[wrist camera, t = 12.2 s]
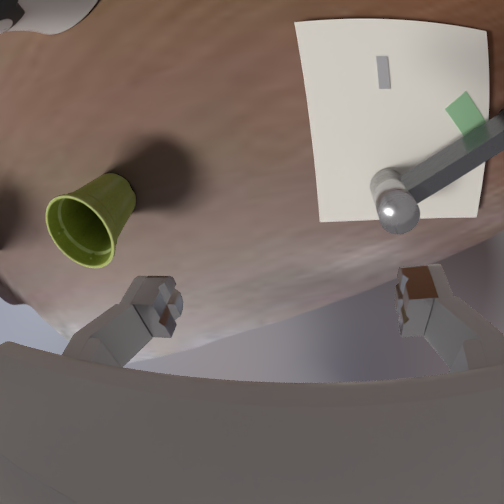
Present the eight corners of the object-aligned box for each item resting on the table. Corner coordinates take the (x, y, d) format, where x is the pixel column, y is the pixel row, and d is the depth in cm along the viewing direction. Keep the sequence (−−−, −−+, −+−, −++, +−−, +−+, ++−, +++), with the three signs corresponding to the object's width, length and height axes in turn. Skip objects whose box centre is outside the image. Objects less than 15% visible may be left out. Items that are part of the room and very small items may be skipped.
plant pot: (142, 236, 41) (111, 281, 34) (84, 210, 40) (47, 248, 33) (155, 176, 35) (117, 216, 28) (89, 150, 34) (43, 183, 27)
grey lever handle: (381, 208, 30) (391, 241, 26) (362, 181, 29) (371, 210, 25) (512, 126, 22) (543, 146, 17) (499, 94, 20) (531, 110, 16)
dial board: (295, 23, 23) (294, 22, 21) (479, 30, 18) (487, 31, 17) (319, 214, 34) (319, 222, 33) (471, 210, 30) (476, 217, 29)
